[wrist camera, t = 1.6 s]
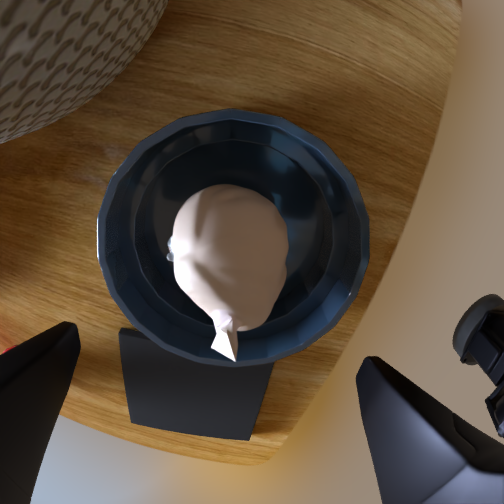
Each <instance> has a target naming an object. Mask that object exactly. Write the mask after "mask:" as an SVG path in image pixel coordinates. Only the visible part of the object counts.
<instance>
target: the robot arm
mask: <svg viewBox="0 0 504 504" xmlns="http://www.w3.org/2000/svg"><path fill="white" fill-rule="evenodd" d="M80 350H81V343H80V338H79V333H78V328H77V325H76V324H75V323H71V322H67V321H64V322H61V323H59V324H58V325H56V326H54V327H52V328H50V329H48V330H46V331H44V332H42V333H40V334H38V335H37V336H35V337H33V338H31V339H29V340H27V341H25V342H23V343H21V344H20V345H18V346H16V347H14V348H12V349H10V350H8V351H7V352H5V353H3V354H1V355H0V504H30V501H31V497H32V493H33V490H34V486H35V483H36V479H37V476H38V473H39V470H40V466H41V463H42V460H43V457H44V453H45V451H46V448H47V445H48V442H49V439H50V437H51V434H52V431H53V428H54V426H55V423H56V420H57V418H58V415H59V413H60V410H61V407H62V405H63V402H64V400H65V398H66V395H67V392H68V390H69V386H70V383H71V380H72V376H73V373H74V370H75V366H76V363H77V360H78V357H79V354H80ZM460 361H461V362H462V363H473V362H477V363H478V365H479V366H480V367H481V368H482V370H483V371H484V372H485V373H486V374H487V375H488V377H489V378H490V379H491V381H492V382H493V383H494V385H495V386H497V388H496V389H495V390H494V392H493V393H492V394H491V395H490V396H489V397H487V398H486V399H485V403H486V404H487V409H488V411H489V413H490V416H491V418H492V421H493V423H494V425H495V428H496V430H497V432H498V435H499V436H500V437H503V438H504V311H497V310H488V311H486V312H485V314H484V316H483V318H482V320H481V322H480V324H479V326H478V328H477V330H476V332H475V334H474V335H473V337H472V339H471V341H470V343H469V345H468V346H467V348H466V350H465V352H464V353H463V355H462V357H461V359H460ZM356 385H357V391H358V397H359V404H360V410H361V416H362V421H363V425H364V429H365V433H366V437H367V441H368V445H369V448H370V453H371V456H372V461H373V465H374V469H375V473H376V477H377V481H378V486H379V490H380V494H381V500H382V504H504V445H503V444H501V443H500V442H498V441H497V440H495V439H493V438H491V437H490V436H488V435H486V434H485V433H483V432H482V431H480V430H478V429H477V428H475V427H474V426H472V425H471V424H469V423H468V422H466V421H465V420H463V419H462V418H460V417H459V416H458V415H457V414H455V413H453V412H452V411H451V410H450V409H448V408H447V407H446V406H444V405H443V404H441V403H440V402H438V401H437V400H436V399H435V398H433V397H432V396H431V395H429V394H428V393H426V392H425V391H423V390H422V389H421V388H420V387H418V386H417V385H416V384H414V383H413V382H412V381H410V380H409V379H408V378H406V377H405V376H403V375H402V374H401V373H399V372H398V371H397V370H395V369H394V368H393V367H391V366H390V365H389V364H387V363H386V362H385V361H383V360H382V359H381V358H379V357H377V356H368V357H366V358H365V359H364V361H363V363H362V365H361V367H360V369H359V371H358V373H357V375H356Z"/></svg>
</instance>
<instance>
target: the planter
mask: <svg viewBox="0 0 504 504" xmlns="http://www.w3.org/2000/svg"><path fill="white" fill-rule="evenodd" d="M168 1H169V0H0V144H1V143H4V142H7V141H10V140H12V139H15V138H17V137H20V136H23V135H25V134H28V133H31V132H33V131H36V130H38V129H41V128H43V127H45V126H48V125H50V124H51V123H53V122H55V121H57V120H59V119H61V118H63V117H65V116H67V115H69V114H70V113H72V112H73V111H75V110H76V109H78V108H79V107H81V106H82V105H84V104H85V103H87V102H88V101H90V100H91V99H92V98H93V97H94V96H96V95H97V94H98V93H99V92H100V91H102V90H103V89H104V88H105V87H107V86H108V85H109V84H110V83H111V82H112V81H113V80H114V79H115V78H116V77H117V76H118V75H119V74H120V73H121V72H122V71H123V70H124V69H125V68H126V67H127V66H128V64H129V63H130V62H131V61H132V60H133V58H134V57H135V56H136V55H137V54H138V53H139V51H140V50H141V49H142V47H143V46H144V44H145V43H146V41H147V40H148V38H149V37H150V36H151V34H152V33H153V31H154V29H155V27H156V25H157V24H158V22H159V20H160V18H161V16H162V15H163V13H164V11H165V9H166V6H167V4H168Z"/></svg>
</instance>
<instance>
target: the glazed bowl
mask: <svg viewBox="0 0 504 504" xmlns="http://www.w3.org/2000/svg"><path fill="white" fill-rule="evenodd" d="M220 184H230V185H236V186H240V187H243V188H247V189H251V190H253V191H256V192H257V193H259V194H260V195H262V196H263V197H265V198H267V199H268V200H269V201H271V202H272V203H273V204H274V205H275V206H276V208H277V210H278V212H279V214H280V215H281V217H282V218H283V220H284V221H285V223H286V226H287V237H288V244H289V249H288V254H287V257H286V262H285V265H286V269H287V275H286V280H285V283H284V286H283V288H282V290H281V292H280V294H279V296H278V298H277V300H276V301H275V303H274V305H273V308H272V310H271V313H270V314H269V316H268V318H267V319H266V321H265V322H264V323H263V324H262V325H260V326H259V327H256V328H254V329H251V330H247V331H237V341H238V349H237V357H236V362H235V361H233V360H232V359H230V358H228V357H226V356H225V355H223V354H221V353H220V352H218V351H216V350H215V349H213V348H211V346H212V344H213V342H214V339H215V337H216V335H217V332H216V328H215V325H214V321H213V319H212V318H211V317H210V316H209V315H208V314H207V313H206V312H205V311H204V310H203V309H202V308H200V307H199V306H198V305H197V304H196V303H195V302H194V301H193V300H192V299H191V298H190V297H189V296H188V295H187V294H186V293H185V292H184V291H183V290H182V289H181V288H180V286H179V285H178V283H177V281H176V278H175V274H174V262H172V261H169V260H167V255H168V253H170V252H169V247H168V241H169V239H170V237H171V236H172V235H173V228H174V223H175V219H176V216H177V214H178V212H179V210H180V208H181V207H182V205H183V204H184V203H185V201H186V200H187V199H189V198H190V197H191V196H192V195H194V194H195V193H197V192H199V191H201V190H203V189H205V188H207V187H210V186H214V185H220ZM97 251H98V261H99V264H100V267H101V270H102V273H103V276H104V279H105V281H106V284H107V287H108V290H109V293H110V295H111V297H112V298H113V299H114V301H115V302H116V304H117V305H118V306H119V308H120V309H121V310H122V312H123V313H124V315H125V316H126V317H127V319H128V320H129V321H130V323H131V324H132V325H133V326H134V327H135V328H137V329H138V330H139V331H140V332H142V333H143V334H144V335H146V336H147V337H148V338H149V339H151V340H152V341H153V342H155V343H156V344H157V345H159V346H160V347H161V348H163V349H165V350H168V351H170V352H172V353H175V354H177V355H180V356H182V357H184V358H187V359H189V360H192V361H194V362H198V363H204V364H211V365H218V366H226V367H242V366H251V365H259V364H267V363H272V362H274V361H277V360H279V359H282V358H285V357H287V356H290V355H292V354H295V353H297V352H300V351H302V350H304V349H306V348H307V347H309V346H310V345H311V344H313V343H314V342H315V341H317V340H318V339H319V338H321V337H322V336H323V335H325V334H326V333H327V332H328V331H330V330H331V329H332V328H334V326H335V325H336V324H337V323H338V321H339V320H340V319H341V317H342V316H343V315H344V313H345V312H346V311H347V309H348V308H349V307H350V305H351V304H352V303H353V301H354V300H355V298H356V296H357V295H358V292H359V289H360V286H361V283H362V280H363V277H364V274H365V272H366V268H367V265H368V262H369V258H370V226H369V216H368V213H367V210H366V207H365V204H364V202H363V199H362V196H361V193H360V191H359V188H358V185H357V183H356V180H355V178H354V176H353V175H352V174H351V172H350V171H349V170H348V169H347V167H346V166H345V165H344V164H343V163H342V161H341V160H340V159H339V158H338V157H337V155H336V154H335V153H334V152H333V151H332V150H331V148H330V147H329V146H328V145H327V144H326V143H325V142H324V141H323V140H321V139H320V138H318V137H316V136H315V135H313V134H311V133H309V132H308V131H306V130H304V129H303V128H301V127H299V126H297V125H295V124H294V123H292V122H290V121H288V120H286V119H285V118H283V117H280V116H275V115H270V114H264V113H259V112H253V111H247V110H240V109H234V108H232V109H230V108H228V109H222V110H216V111H211V112H205V113H200V114H195V115H190V116H185V117H182V118H179V119H177V120H175V121H174V122H172V123H170V124H169V125H167V126H165V127H163V128H162V129H160V130H158V131H157V132H155V133H153V134H152V135H150V136H148V137H147V138H145V139H144V140H142V141H140V143H138V145H137V146H136V147H135V148H134V149H133V150H132V152H131V153H130V154H129V155H128V157H127V158H126V159H125V160H124V162H123V163H122V164H121V165H120V167H119V168H118V169H117V170H116V172H115V173H114V174H113V176H112V177H111V179H110V182H109V184H108V187H107V190H106V193H105V196H104V199H103V202H102V205H101V208H100V211H99V214H98V218H97Z"/></svg>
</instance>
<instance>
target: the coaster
mask: <svg viewBox="0 0 504 504" xmlns="http://www.w3.org/2000/svg"><path fill="white" fill-rule="evenodd" d="M118 334H119V344H120V354H121V362H122V370H123V377H124V384H125V391H126V397H127V403H128V409H129V414H130V420H131V423H134V424H138V425H143V426H147V427H152V428H157V429H162V430H168V431H173V432H179V433H185V434H192V435H199V436H206V437H214V438H223V439H234V440H246V441H249V440H250V437H251V434H252V431H253V428H254V425H255V422H256V419H257V416H258V413H259V410H260V407H261V404H262V401H263V397H264V394H265V391H266V388H267V385H268V381H269V378H270V375H271V372H272V368H273V365H274V362H275V361H274V362H272V363H267V364H259V365H251V366H242V367H226V366H218V365H211V364H204V363H198V362H194V361H192V360H189V359H187V358H184V357H182V356H180V355H177V354H175V353H172V352H170V351H168V350H165V349H163V348H161V347H160V346H159V345H157V344H156V343H155V342H153V341H152V340H151V339H149V338H148V337H147V336H146V335H144V334H143V333H142V332H140V331H135V330H130V329H126V328H121V330H120V331H119V333H118Z"/></svg>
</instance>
